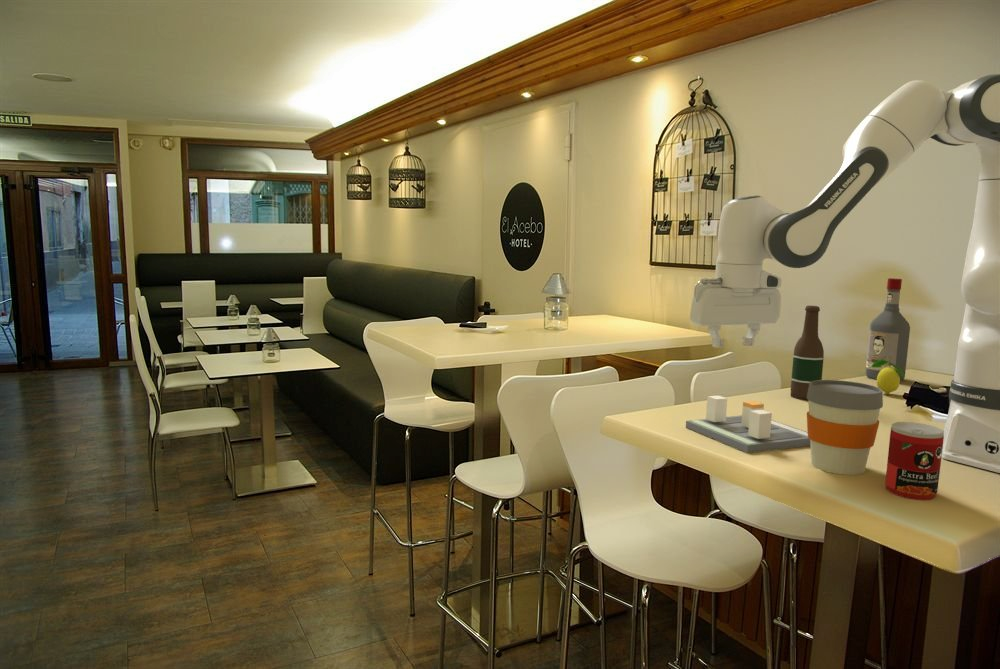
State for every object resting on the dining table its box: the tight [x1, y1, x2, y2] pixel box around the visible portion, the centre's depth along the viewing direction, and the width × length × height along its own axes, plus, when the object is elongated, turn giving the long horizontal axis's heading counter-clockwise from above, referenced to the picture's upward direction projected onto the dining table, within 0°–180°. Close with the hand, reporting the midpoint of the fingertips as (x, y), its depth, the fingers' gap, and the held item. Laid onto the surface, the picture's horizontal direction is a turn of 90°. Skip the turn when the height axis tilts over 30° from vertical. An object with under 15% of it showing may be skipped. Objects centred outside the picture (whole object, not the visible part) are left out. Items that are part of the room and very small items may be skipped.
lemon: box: [871, 358, 906, 395], centre depth 196 cm, size 7×6×10 cm
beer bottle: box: [790, 305, 825, 401], centre depth 189 cm, size 8×8×24 cm
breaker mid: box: [741, 400, 765, 428], centre depth 152 cm, size 3×3×5 cm
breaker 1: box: [705, 395, 728, 422], centre depth 157 cm, size 3×3×5 cm
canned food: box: [884, 421, 944, 501], centre depth 121 cm, size 8×8×11 cm
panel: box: [685, 414, 811, 454], centre depth 153 cm, size 19×19×2 cm
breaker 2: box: [748, 409, 773, 439], centre depth 145 cm, size 3×3×5 cm
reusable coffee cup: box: [806, 379, 884, 476], centre depth 133 cm, size 12×13×15 cm
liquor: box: [864, 277, 911, 381], centre depth 217 cm, size 9×9×30 cm
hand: (732, 346), depth 148 cm, fingers open, 6 cm apart
